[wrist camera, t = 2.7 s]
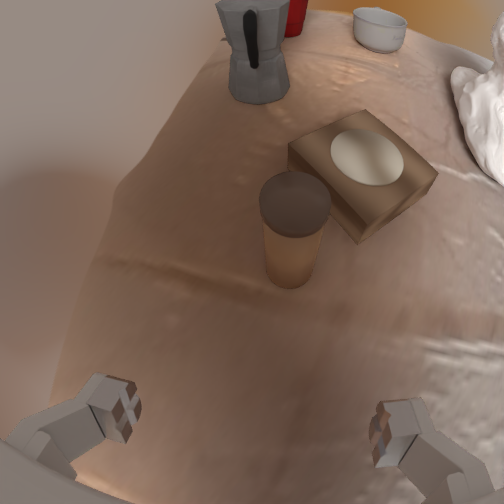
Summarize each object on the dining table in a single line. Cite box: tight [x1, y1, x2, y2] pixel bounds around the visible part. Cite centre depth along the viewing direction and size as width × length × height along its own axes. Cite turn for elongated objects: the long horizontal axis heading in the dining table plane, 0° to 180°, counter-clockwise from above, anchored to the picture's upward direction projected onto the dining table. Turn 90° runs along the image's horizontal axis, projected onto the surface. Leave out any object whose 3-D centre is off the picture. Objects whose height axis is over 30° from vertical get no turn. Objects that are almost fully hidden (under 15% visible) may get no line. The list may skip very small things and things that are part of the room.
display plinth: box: [288, 109, 439, 245], centre depth 31 cm, size 12×12×4 cm
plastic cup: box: [284, 0, 308, 37], centre depth 46 cm, size 11×11×12 cm
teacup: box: [353, 7, 407, 53], centre depth 45 cm, size 14×11×8 cm
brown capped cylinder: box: [259, 171, 331, 289], centre depth 24 cm, size 5×5×11 cm
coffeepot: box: [215, 0, 290, 104], centre depth 34 cm, size 15×9×18 cm, turn 178°
